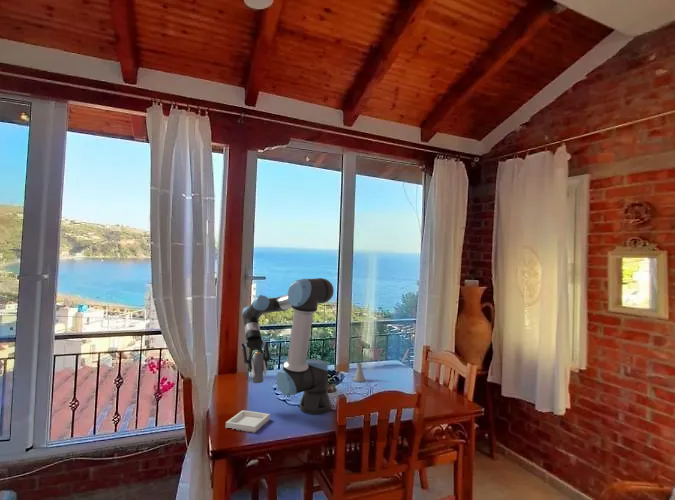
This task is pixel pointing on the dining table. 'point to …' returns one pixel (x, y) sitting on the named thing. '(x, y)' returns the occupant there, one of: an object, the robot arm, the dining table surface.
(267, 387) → the dining table surface
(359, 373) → the flask
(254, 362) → the charcoal cell
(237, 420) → the tray
